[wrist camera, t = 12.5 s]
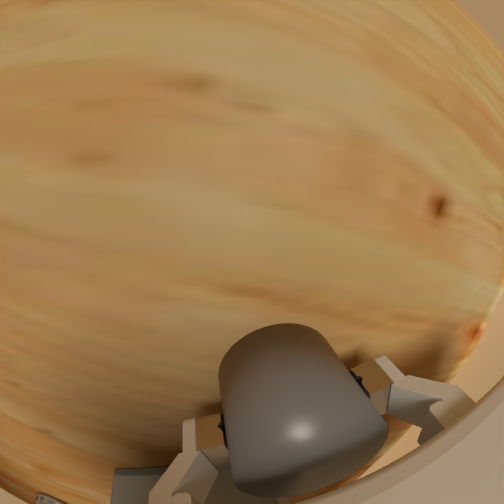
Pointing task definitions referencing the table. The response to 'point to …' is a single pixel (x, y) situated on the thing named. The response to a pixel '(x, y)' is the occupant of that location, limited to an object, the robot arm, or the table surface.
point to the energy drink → (47, 499)
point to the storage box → (144, 479)
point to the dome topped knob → (293, 413)
